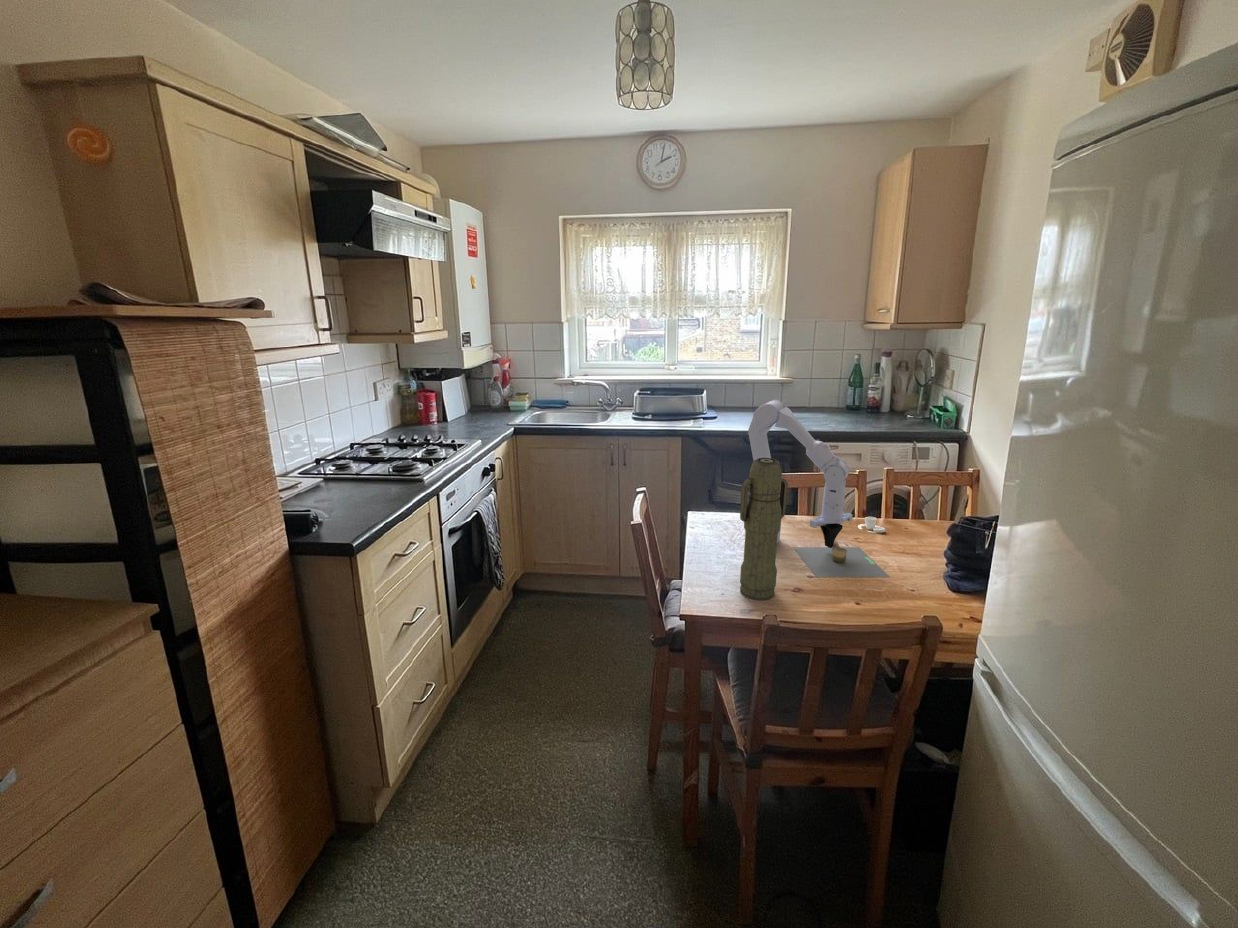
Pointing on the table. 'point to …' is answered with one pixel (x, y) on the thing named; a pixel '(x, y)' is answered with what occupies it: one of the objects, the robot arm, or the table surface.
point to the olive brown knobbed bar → (838, 552)
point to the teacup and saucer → (872, 525)
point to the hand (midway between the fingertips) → (828, 546)
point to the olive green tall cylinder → (761, 527)
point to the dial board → (839, 563)
